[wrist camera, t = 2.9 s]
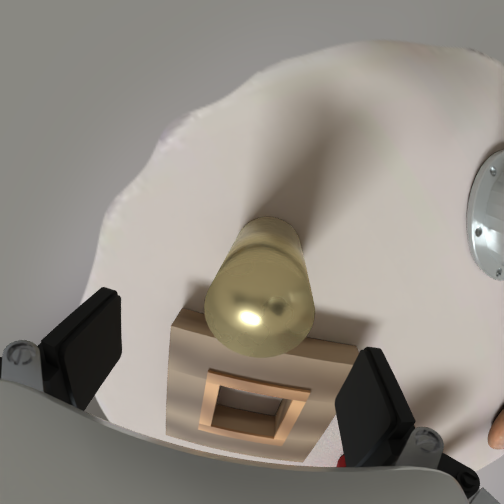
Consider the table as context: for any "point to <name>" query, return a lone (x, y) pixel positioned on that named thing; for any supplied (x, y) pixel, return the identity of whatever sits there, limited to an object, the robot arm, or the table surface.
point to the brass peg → (261, 292)
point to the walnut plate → (256, 381)
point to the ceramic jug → (497, 432)
